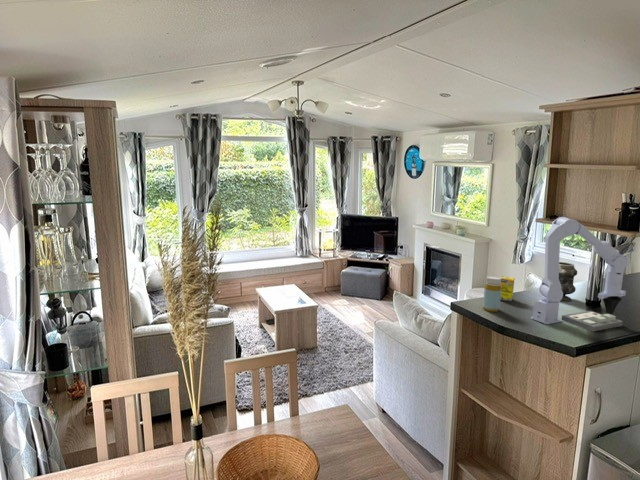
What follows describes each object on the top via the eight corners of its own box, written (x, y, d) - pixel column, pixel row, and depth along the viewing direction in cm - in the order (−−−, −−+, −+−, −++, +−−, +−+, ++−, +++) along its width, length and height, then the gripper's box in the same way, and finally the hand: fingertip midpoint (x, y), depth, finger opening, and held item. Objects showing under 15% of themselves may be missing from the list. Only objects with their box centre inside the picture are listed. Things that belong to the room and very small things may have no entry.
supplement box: (498, 300, 214) (500, 278, 212) (499, 297, 219) (501, 275, 217) (511, 302, 211) (513, 280, 209) (512, 299, 216) (514, 277, 214)
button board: (592, 331, 176) (593, 326, 175) (561, 319, 188) (562, 314, 188) (622, 325, 183) (622, 320, 182) (590, 315, 195) (590, 310, 195)
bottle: (479, 308, 201) (482, 276, 199) (490, 306, 204) (493, 275, 202) (491, 313, 195) (494, 280, 193) (502, 310, 198) (505, 278, 196)
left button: (589, 329, 178) (590, 323, 178) (581, 326, 181) (582, 320, 181) (595, 328, 180) (596, 322, 179) (587, 325, 183) (588, 319, 182)
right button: (609, 322, 183) (610, 317, 182) (601, 320, 186) (602, 314, 186) (615, 321, 184) (615, 316, 184) (606, 319, 187) (607, 313, 187)
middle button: (599, 324, 180) (600, 319, 180) (591, 321, 184) (592, 316, 183) (605, 323, 182) (606, 318, 181) (597, 320, 185) (598, 315, 185)
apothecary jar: (570, 296, 223) (574, 261, 220) (577, 303, 212) (582, 267, 209) (544, 294, 226) (548, 259, 223) (549, 301, 215) (554, 265, 211)
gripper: (611, 286, 176) (607, 318, 178) (634, 282, 181) (630, 314, 184) (594, 281, 182) (590, 313, 184) (617, 278, 188) (613, 309, 190)
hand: (609, 313), depth 184 cm, fingers closed
